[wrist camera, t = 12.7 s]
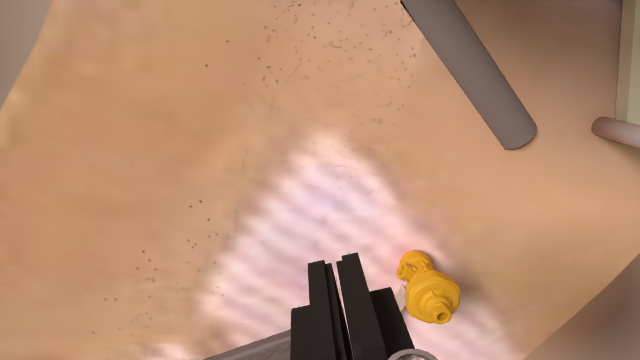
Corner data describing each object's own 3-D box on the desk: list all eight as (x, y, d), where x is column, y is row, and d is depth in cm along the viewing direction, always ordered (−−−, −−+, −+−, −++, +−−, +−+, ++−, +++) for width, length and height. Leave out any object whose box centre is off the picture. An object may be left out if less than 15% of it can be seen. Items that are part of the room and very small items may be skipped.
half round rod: (502, 150, 40) (510, 155, 39) (394, 1, 35) (399, -2, 33) (535, 125, 39) (546, 128, 38) (431, -33, 34) (438, -37, 32)
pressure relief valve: (442, 250, 43) (482, 307, 34) (389, 325, 47) (413, 395, 37) (403, 232, 42) (433, 285, 33) (351, 310, 46) (366, 378, 36)
